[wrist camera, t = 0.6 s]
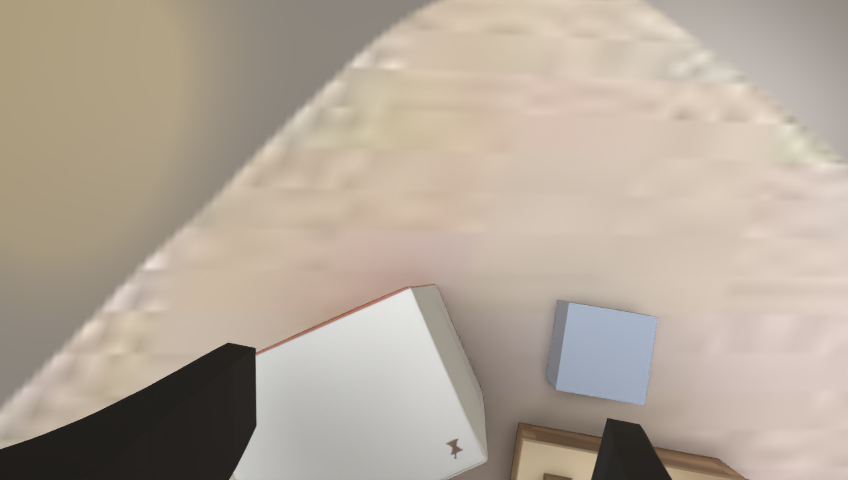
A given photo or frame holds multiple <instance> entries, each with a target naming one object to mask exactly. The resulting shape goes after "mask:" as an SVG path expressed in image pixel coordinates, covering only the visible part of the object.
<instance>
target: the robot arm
mask: <svg viewBox="0 0 848 480" xmlns="http://www.w3.org/2000/svg"><path fill="white" fill-rule="evenodd" d="M256 426H257V419H256V348H253V347H248V346H243V345H238V344H232V343H227V344H225V345H223V346H221V347H219V348H217V349H215V350H213V351H211V352H209V353H208V354H206V355H204V356H202V357H200V358H199V359H197V360H195V361H193V362H192V363H190V364H188V365H186V366H184V367H183V368H181V369H179V370H177V371H175V372H174V373H172V374H170V375H168V376H166V377H164V378H163V379H161V380H159V381H157V382H155V383H154V384H152V385H150V386H148V387H146V388H144V389H142V390H140V391H138V392H136V393H134V394H132V395H130V396H128V397H126V398H124V399H122V400H120V401H118V402H116V403H114V404H112V405H110V406H108V407H106V408H104V409H102V410H100V411H98V412H96V413H94V414H91V415H89V416H87V417H85V418H82V419H80V420H78V421H75V422H73V423H71V424H68V425H66V426H63V427H61V428H58V429H56V430H53V431H51V432H48V433H46V434H43V435H41V436H38V437H35V438H33V439H30V440H27V441H24V442H21V443H18V444H15V445H12V446H9V447H6V448H3V449H0V480H229V479H230V477H231V475H232V474H233V472H234V471H235V469H236V467H237V465H238V463H239V461H240V459H241V458H242V456H243V454H244V452H245V450H246V448H247V445H248V443H249V441H250V439H251V437H252V435H253V433H254V431H255V429H256ZM591 480H672V478H671V477H670V475H669V473H668V471H667V470H666V468H665V466H664V465H663V463H662V461H661V460H660V458H659V456H658V454H657V453H656V451H655V449H654V447H653V446H652V444H651V442H650V440H649V439H648V437H647V435H646V433H645V432H644V430H643V429H642V427H641V426H640V425H639V424H634V423H629V422H624V421H619V420H614V419H609V418H607V422H606V425H605V429H604V433H603V437H602V440H601V444H600V448H599V452H598V455H597V459H596V463H595V467H594V470H593V474H592V478H591Z"/></svg>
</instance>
